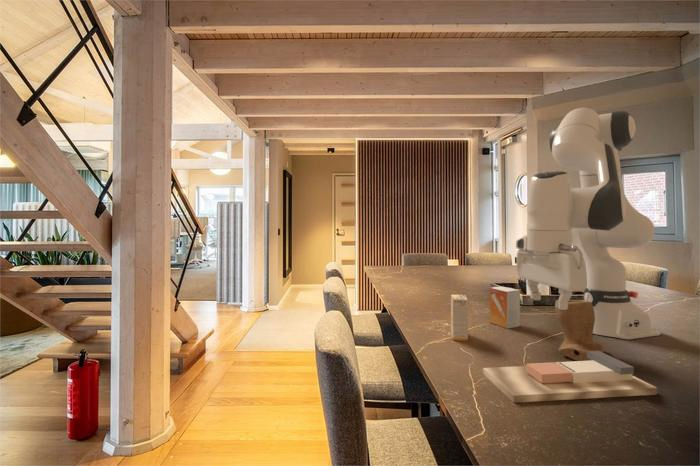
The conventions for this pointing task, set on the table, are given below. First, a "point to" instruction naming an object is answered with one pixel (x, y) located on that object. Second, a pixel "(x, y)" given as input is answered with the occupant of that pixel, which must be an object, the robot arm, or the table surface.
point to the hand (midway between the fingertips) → (547, 304)
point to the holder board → (560, 387)
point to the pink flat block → (548, 372)
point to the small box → (505, 307)
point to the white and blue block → (598, 368)
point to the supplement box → (459, 317)
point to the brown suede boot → (577, 330)
